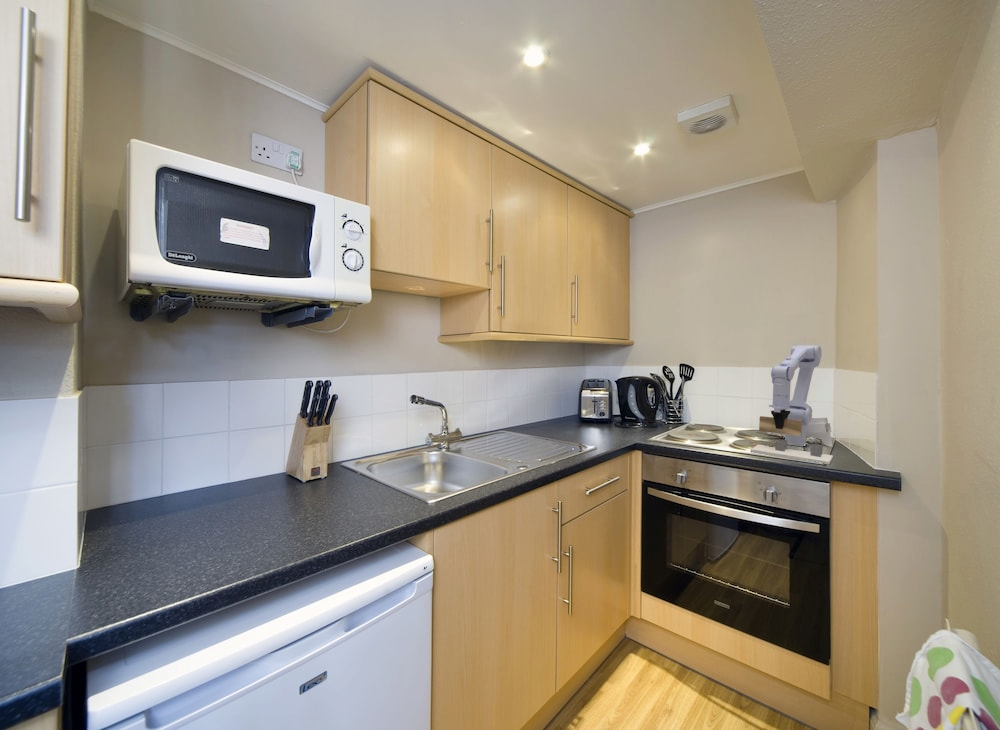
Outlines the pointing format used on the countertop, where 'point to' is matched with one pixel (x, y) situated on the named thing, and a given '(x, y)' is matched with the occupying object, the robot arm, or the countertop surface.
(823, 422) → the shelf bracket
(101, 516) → the countertop surface
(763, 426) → the door panel
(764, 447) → the board
